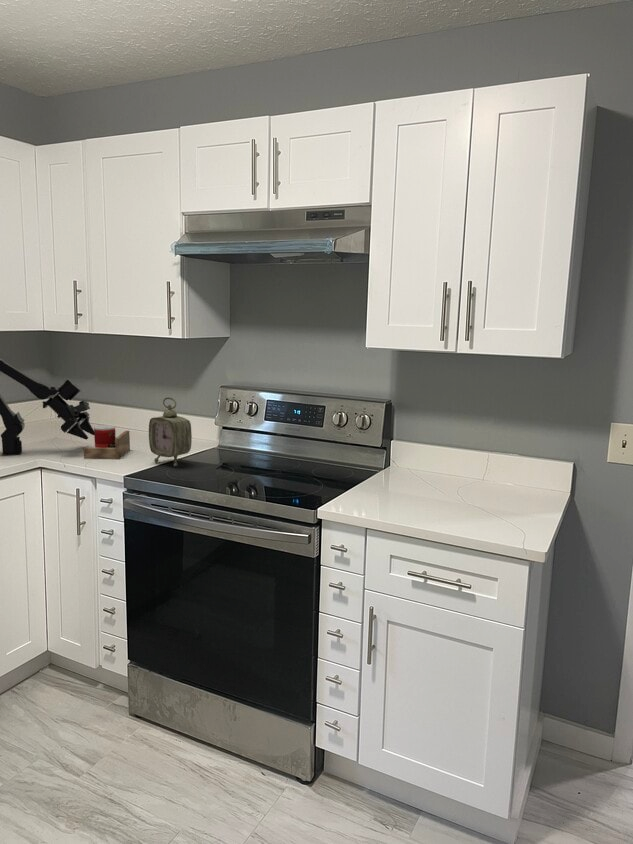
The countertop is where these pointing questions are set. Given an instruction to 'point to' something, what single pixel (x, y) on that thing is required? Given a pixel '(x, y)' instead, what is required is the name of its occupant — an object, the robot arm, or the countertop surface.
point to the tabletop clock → (169, 434)
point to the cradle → (110, 449)
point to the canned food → (104, 436)
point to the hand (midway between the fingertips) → (91, 436)
